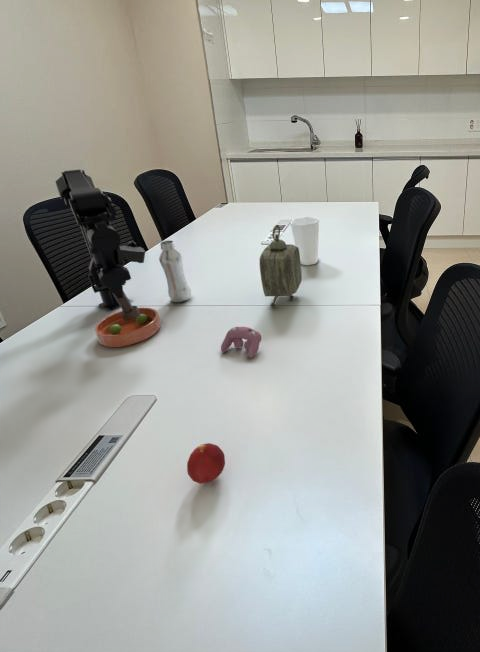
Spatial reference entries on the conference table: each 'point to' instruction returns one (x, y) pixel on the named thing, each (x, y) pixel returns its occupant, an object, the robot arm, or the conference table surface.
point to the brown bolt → (127, 308)
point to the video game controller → (237, 336)
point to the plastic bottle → (174, 272)
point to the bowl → (127, 329)
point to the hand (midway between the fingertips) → (119, 296)
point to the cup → (306, 238)
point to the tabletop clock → (280, 269)
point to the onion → (205, 463)
